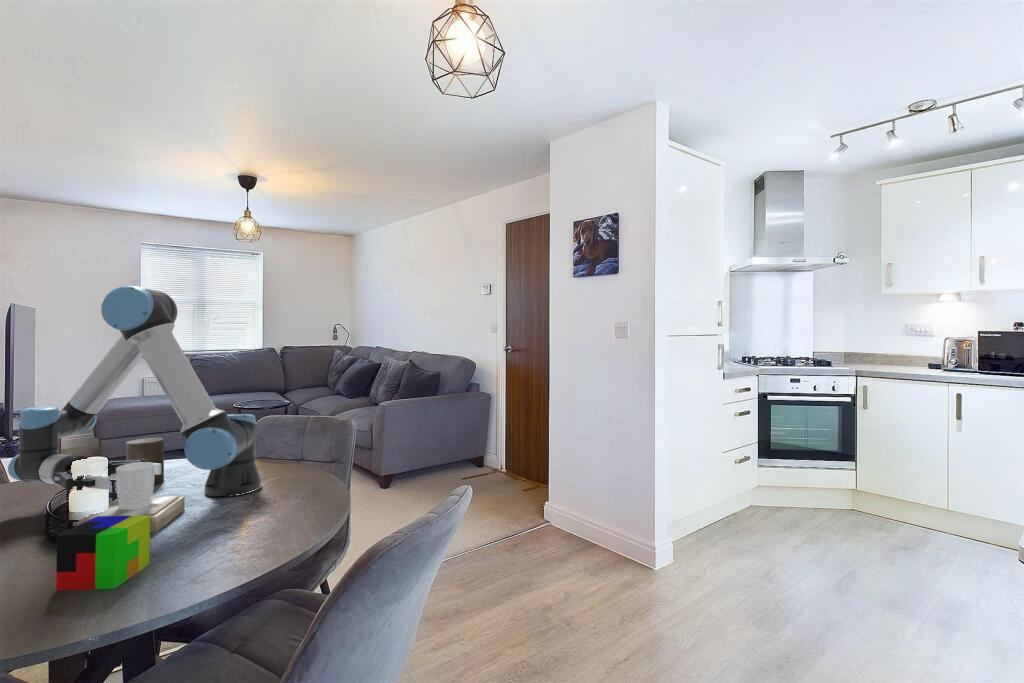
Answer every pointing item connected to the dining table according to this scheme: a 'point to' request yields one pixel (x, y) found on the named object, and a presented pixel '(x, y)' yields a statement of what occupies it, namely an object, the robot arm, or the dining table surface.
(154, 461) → the pillar candle
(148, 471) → the white cup
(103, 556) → the puzzle toy
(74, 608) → the dining table surface
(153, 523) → the oak riser
